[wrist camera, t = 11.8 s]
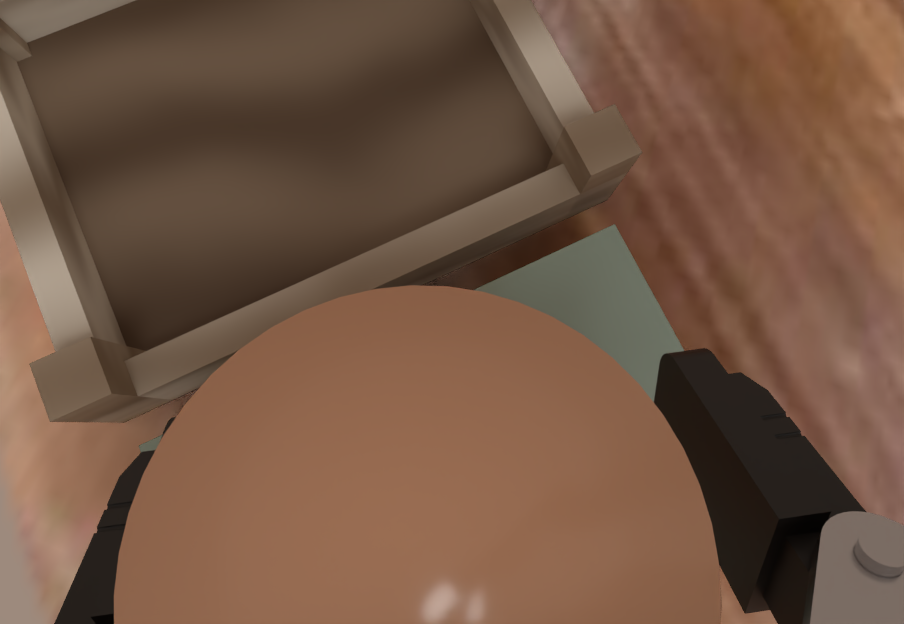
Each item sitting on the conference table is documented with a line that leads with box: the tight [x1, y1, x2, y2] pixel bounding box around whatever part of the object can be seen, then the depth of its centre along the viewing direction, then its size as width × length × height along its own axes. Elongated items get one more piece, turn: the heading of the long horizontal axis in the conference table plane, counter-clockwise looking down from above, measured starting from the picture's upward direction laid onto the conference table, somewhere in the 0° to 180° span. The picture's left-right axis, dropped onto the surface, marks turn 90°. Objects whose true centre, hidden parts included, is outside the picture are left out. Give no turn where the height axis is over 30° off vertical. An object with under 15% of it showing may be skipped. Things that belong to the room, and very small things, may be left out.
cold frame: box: [0, 0, 642, 423], centre depth 21 cm, size 16×19×4 cm
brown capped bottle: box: [114, 285, 722, 624], centre depth 12 cm, size 6×6×12 cm
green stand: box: [139, 224, 684, 452], centre depth 19 cm, size 9×16×3 cm, turn 116°
